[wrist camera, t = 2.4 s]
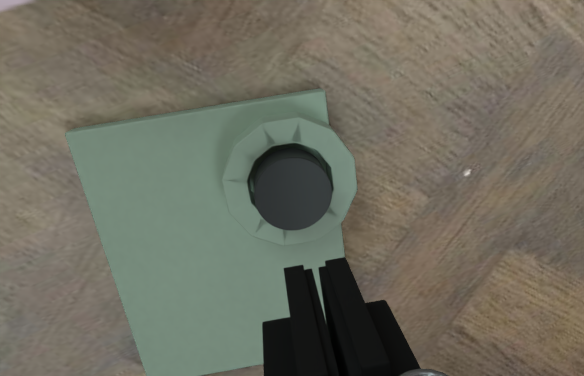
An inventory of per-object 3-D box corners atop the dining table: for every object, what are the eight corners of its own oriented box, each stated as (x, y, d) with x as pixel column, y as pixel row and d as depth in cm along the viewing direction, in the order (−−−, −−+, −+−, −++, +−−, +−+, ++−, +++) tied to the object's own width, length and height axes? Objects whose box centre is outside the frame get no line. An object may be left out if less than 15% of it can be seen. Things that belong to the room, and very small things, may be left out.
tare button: (247, 154, 21) (247, 164, 19) (321, 141, 21) (327, 151, 19) (260, 221, 22) (261, 236, 20) (330, 209, 22) (336, 223, 20)
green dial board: (73, 128, 22) (46, 141, 19) (336, 85, 22) (347, 92, 20) (153, 371, 27) (142, 409, 25) (363, 333, 28) (375, 366, 25)
